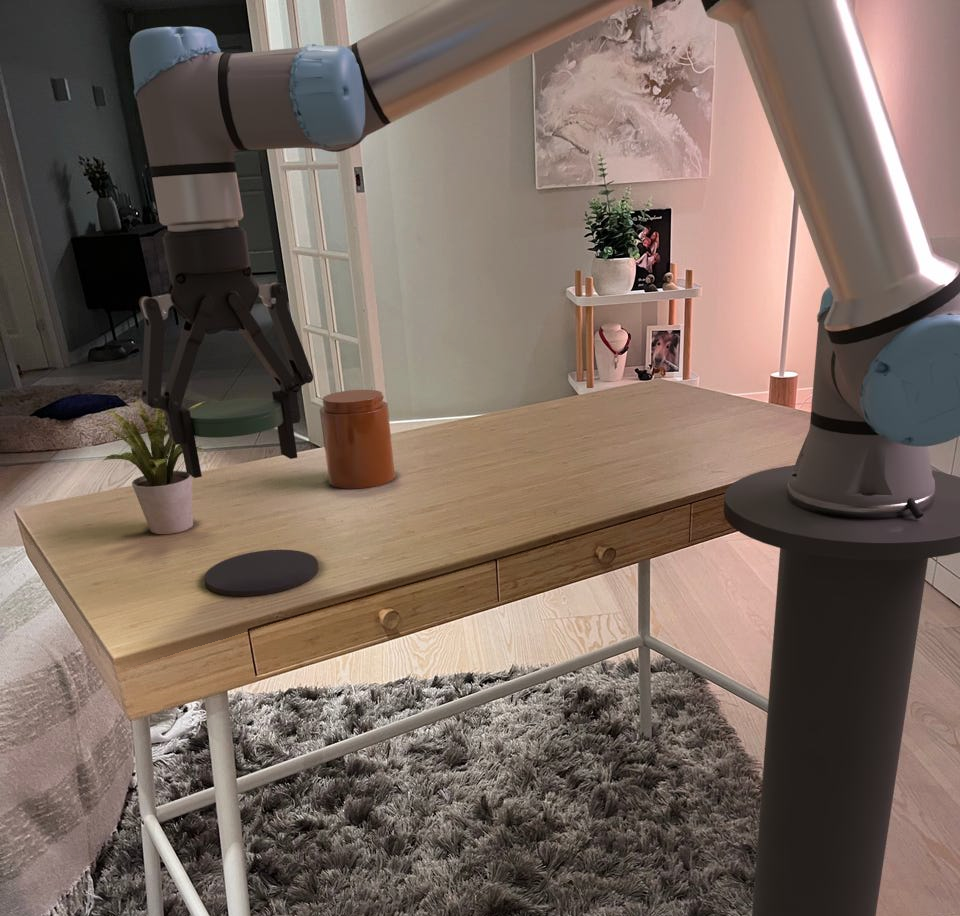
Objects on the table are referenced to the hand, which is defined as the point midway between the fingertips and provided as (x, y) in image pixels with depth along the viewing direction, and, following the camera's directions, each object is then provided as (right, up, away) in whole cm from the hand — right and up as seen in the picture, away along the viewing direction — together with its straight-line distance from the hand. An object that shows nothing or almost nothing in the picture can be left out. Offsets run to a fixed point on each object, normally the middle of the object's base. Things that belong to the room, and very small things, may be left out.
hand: (242, 464), depth 99 cm
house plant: (-13, -4, +21) cm, 25 cm away
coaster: (+1, -11, +5) cm, 12 cm away
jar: (+8, +5, +36) cm, 37 cm away
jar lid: (0, +5, -2) cm, 5 cm away
